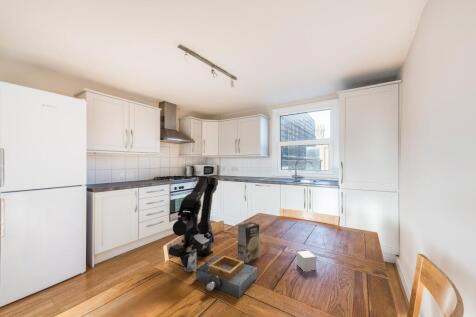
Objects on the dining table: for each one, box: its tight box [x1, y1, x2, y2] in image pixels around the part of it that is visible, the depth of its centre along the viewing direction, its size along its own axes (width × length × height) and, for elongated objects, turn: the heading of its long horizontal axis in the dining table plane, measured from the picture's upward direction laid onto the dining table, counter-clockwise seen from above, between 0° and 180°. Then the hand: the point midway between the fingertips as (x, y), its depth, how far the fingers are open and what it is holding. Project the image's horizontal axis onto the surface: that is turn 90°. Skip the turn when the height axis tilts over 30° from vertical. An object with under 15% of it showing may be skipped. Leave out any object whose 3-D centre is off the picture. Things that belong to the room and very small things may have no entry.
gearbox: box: [195, 255, 258, 298], centre depth 77 cm, size 18×20×6 cm
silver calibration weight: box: [183, 248, 197, 272], centre depth 84 cm, size 5×6×9 cm
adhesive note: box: [296, 250, 317, 272], centre depth 88 cm, size 6×6×6 cm
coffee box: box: [236, 221, 260, 264], centre depth 97 cm, size 9×6×16 cm
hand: (190, 264), depth 84 cm, fingers closed on silver calibration weight, 5 cm apart
